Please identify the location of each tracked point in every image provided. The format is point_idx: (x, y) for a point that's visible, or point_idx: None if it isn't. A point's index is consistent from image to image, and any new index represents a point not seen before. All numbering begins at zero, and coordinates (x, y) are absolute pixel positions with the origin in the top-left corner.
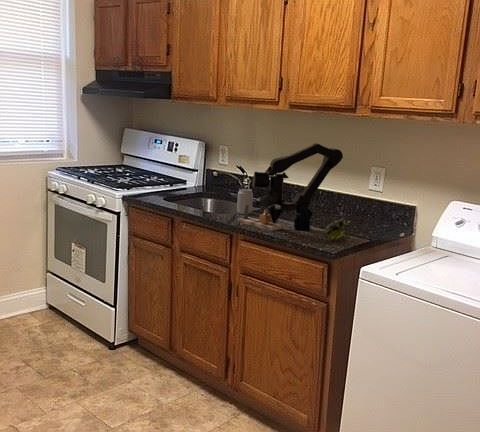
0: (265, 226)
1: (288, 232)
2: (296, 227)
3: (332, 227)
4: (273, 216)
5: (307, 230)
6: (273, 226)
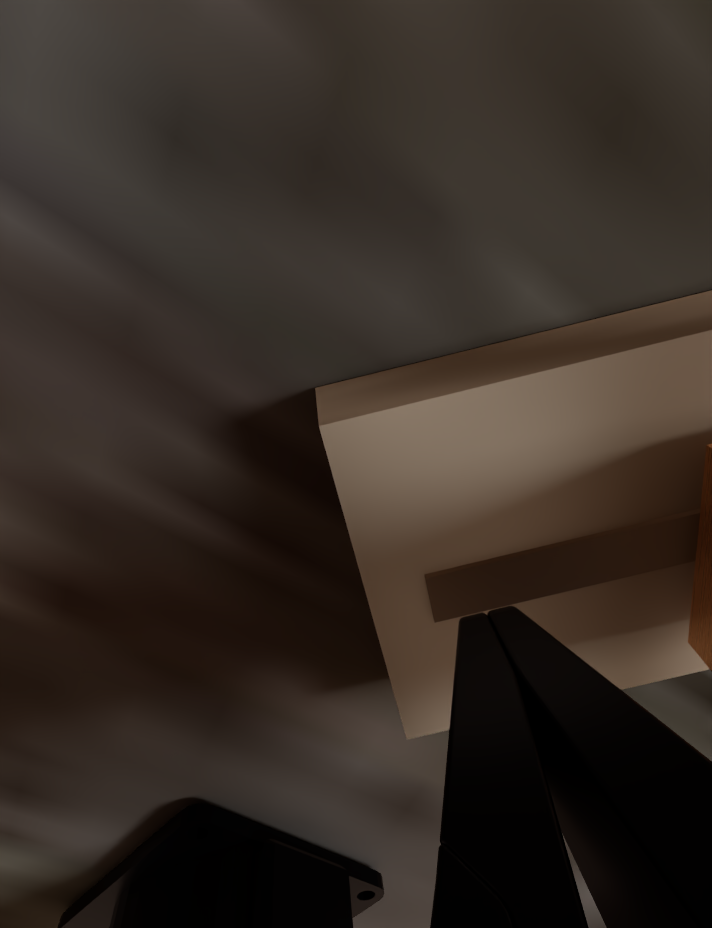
0: (568, 354)
1: (52, 641)
2: (230, 864)
3: None
4: (600, 817)
5: (68, 911)
6: (394, 524)
